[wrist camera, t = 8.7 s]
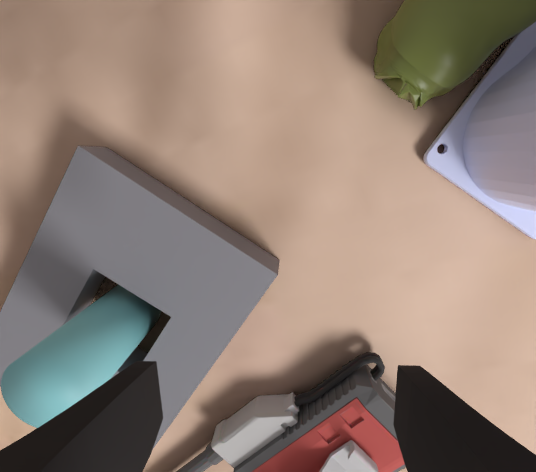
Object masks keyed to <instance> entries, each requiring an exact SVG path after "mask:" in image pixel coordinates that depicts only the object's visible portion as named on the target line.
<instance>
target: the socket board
mask: <svg viewBox="0 0 536 472" xmlns="http://www.w3.org/2000/svg"><path fill="white" fill-rule="evenodd" d="M278 269H279V259H277V258H276V257H274V256H273V255H271V254H270V253H268V252H266V251H265V250H263V249H262V248H260V247H259V246H257V245H256V244H254V243H253V242H251V241H250V240H248V239H247V238H245V237H243V236H242V235H240V234H239V233H237V232H236V231H234V230H233V229H231V228H230V227H228V226H227V225H225V224H224V223H222V222H220V221H219V220H217V219H216V218H214V217H213V216H211V215H210V214H208V213H207V212H205V211H204V210H202V209H201V208H199V207H197V206H196V205H194V204H193V203H191V202H190V201H188V200H187V199H185V198H184V197H182V196H181V195H179V194H177V193H176V192H174V191H173V190H171V189H170V188H168V187H167V186H165V185H164V184H162V183H161V182H159V181H158V180H156V179H154V178H153V177H151V176H150V175H148V174H147V173H145V172H144V171H142V170H141V169H139V168H138V167H136V166H135V165H133V164H131V163H130V162H128V161H127V160H125V159H124V158H122V157H121V156H119V155H118V154H116V153H115V152H113V151H112V150H110V149H108V148H107V147H97V146H79V145H78V147H77V149H76V151H75V153H74V155H73V158H72V160H71V162H70V164H69V166H68V168H67V170H66V173H65V175H64V177H63V179H62V181H61V183H60V185H59V187H58V190H57V192H56V194H55V196H54V198H53V200H52V202H51V205H50V207H49V209H48V211H47V213H46V215H45V217H44V219H43V222H42V224H41V226H40V228H39V230H38V232H37V234H36V237H35V239H34V241H33V243H32V245H31V247H30V249H29V251H28V254H27V256H26V258H25V260H24V262H23V264H22V266H21V269H20V271H19V273H18V275H17V277H16V279H15V281H14V283H13V286H12V288H11V290H10V292H9V294H8V296H7V298H6V301H5V303H4V305H3V307H2V309H1V311H0V386H1V379H2V375H3V373H4V371H5V370H6V368H7V367H8V366H9V365H10V364H11V363H13V362H14V361H15V360H17V359H18V358H19V357H21V356H22V355H23V354H25V353H26V352H27V351H29V350H30V349H31V348H33V347H34V346H36V345H37V344H38V343H40V342H41V341H42V340H44V339H45V338H46V337H48V336H49V335H50V334H52V333H53V332H54V331H56V330H57V329H59V328H60V327H61V326H63V325H64V324H65V323H67V322H68V321H69V320H71V319H72V318H73V317H75V316H76V315H78V314H79V313H80V312H82V311H83V310H84V309H86V308H87V307H88V306H89V305H90V304H91V302H92V300H93V298H94V296H95V295H96V293H97V291H98V289H99V287H100V286H101V284H102V282H103V280H104V278H105V277H107V278H109V279H110V280H112V281H114V282H115V283H117V284H119V285H120V286H122V287H123V288H125V289H127V290H128V291H130V292H132V293H133V294H135V295H136V296H138V297H140V298H141V299H143V300H144V301H146V302H148V303H149V304H151V305H153V306H154V307H156V308H157V309H159V310H161V311H162V312H164V313H165V314H167V315H169V316H170V317H171V318H170V320H169V321H168V323H167V325H166V326H165V328H164V329H163V331H162V332H161V334H160V335H159V337H158V339H157V340H156V342H155V343H154V345H153V346H152V348H151V349H150V351H149V353H146V352H145V351H143V350H141V349H140V348H138V347H136V348H135V349H134V351H133V352H132V353H131V354H130V356H129V357H128V358H127V359H126V360H125V362H124V363H123V364H122V365H121V367H120V368H119V369H118V370H117V372H116V373H115V374H114V375H113V376H112V377H114V376H115V375H117V374H118V373H120V372H121V371H123V370H124V369H125V368H127V367H128V366H130V365H132V364H133V363H135V362H136V361H157V370H158V378H159V386H160V395H161V403H162V411H163V420H162V423H161V426H160V429H159V432H158V435H157V438H156V441H155V444H154V446H153V448H154V447H155V445H156V444H157V442H158V441H159V440H160V438H161V437H162V436H163V434H164V433H165V431H166V430H167V429H168V427H169V426H170V424H171V423H172V422H173V420H174V419H175V417H176V416H177V415H178V413H179V412H180V410H181V409H182V408H183V406H184V405H185V403H186V402H187V401H188V399H189V398H190V396H191V395H192V394H193V392H194V391H195V389H196V388H197V387H198V385H199V384H200V383H201V381H202V380H203V378H204V377H205V376H206V374H207V373H208V371H209V370H210V369H211V367H212V366H213V364H214V363H215V362H216V360H217V359H218V357H219V356H220V355H221V353H222V352H223V350H224V349H225V348H226V346H227V345H228V343H229V342H230V341H231V339H232V338H233V336H234V335H235V334H236V332H237V331H238V330H239V328H240V327H241V325H242V324H243V323H244V321H245V320H246V318H247V317H248V316H249V314H250V313H251V311H252V310H253V309H254V307H255V306H256V304H257V303H258V302H259V300H260V299H261V297H262V296H263V295H264V293H265V292H266V290H267V289H268V288H269V286H270V285H271V283H272V282H273V281H274V279H275V278H276V277H277V275H278Z"/></svg>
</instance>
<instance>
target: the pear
mask: <svg viewBox="0 0 536 472" xmlns="http://www.w3.org/2000/svg"><path fill="white" fill-rule="evenodd" d="M535 22H536V0H404V2H403V3H402V5H401V6H400V8H399V10H398V12H397V13H396V15H395V17H394V18H393V19H391V20H390V21H389V22H388V23H387V24H386V26H385V27H384V28H383V30H382V31H381V33H380V36H379V38H378V42H377V49H378V51H377V53H376V56H375V58H374V72H375V73H376V74H375V78H376V79H381V78H382V79H383V81H384V83H387V86H388V87H391V89H393V90H394V92H395V93H394V94H396V95H398V97H399V98H401V99H402V98H403V99H407V100H409V101H408V102H410V100H411V102H410V103H412V104H413V107H414V109H417V107H418V106H420V107H421V106H422V105H423V104H425V103H426V101H427V100H429V99H431V98H432V97H434V96H441V95H444V94H446V93H448V92H450V91H451V90H452V89H453V88H455V87H456V86H457V85H459V84H461V83H462V82H464V81H465V80H466V79H468V78H469V77H470V76H471V75H472V74H473V73H474V72H475V71H476V70H477V69H478V68H479V67H480V66H481V65H482V63H483V62H484V61H485V60H486V59H487V58H488V56H489V55H490V54H491V53H492V52H493V51H494V50H495V49H496V48H497V47H498V46H499V45H501V44H502V43H503V42H505V41H506V40H508V39H510V38H511V37H513V36H515V35H517V34H518V33H520V32H522V31H523V30H525V29H526V28H528V27H529V26H531V25H532V24H533V23H535ZM382 79H381V80H382ZM400 92H401V93H400ZM399 93H400V94H399ZM407 100H406V101H407Z"/></svg>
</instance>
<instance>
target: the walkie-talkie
mask: <svg viewBox="0 0 536 472" xmlns="http://www.w3.org/2000/svg"><path fill="white" fill-rule="evenodd" d="M368 363H376V364H377V365H376V366H375V368H374V369H371V368H370V367H369V366H368V365H367V364H368ZM342 367H343V368H342V369H340V370H337V371H336V373H335V374H333V375H330V377H329V378H328V379H327V380H326V379H325V380H324V382H323V383H321V384H318V385H317V387H316V388H314V389H311V391H309V392H306V393H301V394H299V395H297V396H296V395H295V394H294V393H293V392H292V393H290V394H282V395H263V396H257V397H256V398H255V399H253V400H252V401H251V402H249V403H248V404H247V405H245V406H244V407H243V408H241V409H240V410H239V411H238V412H236V413H235V414H234V415H232V416H231V417H230V418H228V419H224V420H223V421H221V422H220V423H219V424H217V426H216V429H215V432H214V436H213V439H212V442H211V443H210V444H209V445H208V446H207V447H206V450H205V451H203V452H202V453H201V454H199V455H198V456H197V457H195V458H194V459H193V460H191V461H190V462H189V463H187V464H186V465H185V466H183V467H182V468H181V469H179V470H178V471H177V472H203V471H205V470H206V469H207V468H209V467H210V466H212V465H216V464H218V463H219V462H220V461H222V460H223V459H224V460H225V461H226V462H228V463H229V464H230V465H231V466H232V467H233V468H234V472H398V471H400V470H402V469H404V468H405V467H406V466H405V463H404V460H403V457H402V453H401V450H400V447H399V443H398V440H397V436H396V432H395V429H394V425H393V423H394V410H395V397H396V394H395V393H394V392H393V391H392V390H391V389H390V388H389V387H388V386H387V385H386V384H385V383H384V382H383V381H382V380H381V379H380V377H381V376H382V374H383V373H384V369H385V366H384V364H383V362H382V360H381V358H380V356H379V355H377V354H376V353H372V352H367V353H365V354H362V355H359V356H358V357H356V358H355V359H354V360H352V361H349V363H348V364H347V365H346V366H345V365H344V366H342Z"/></svg>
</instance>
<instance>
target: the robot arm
mask: <svg viewBox="0 0 536 472" xmlns="http://www.w3.org/2000/svg"><path fill="white" fill-rule="evenodd" d="M440 144H442V145H443V146H444V151H443V152H442V153H441V154H439V153H438V151H437V148H438V146H439V145H440ZM424 162H425V164H426V165H427V166H429V167H430V168H432V169H433V170H434V171H436V172H437V173H439V174H440V175H442V176H443V177H444V178H446V179H447V180H449V181H450V182H451V183H453V184H454V185H456V186H457V187H459V188H460V189H461V190H463V191H464V192H466V193H467V194H468V195H470V196H471V197H473V198H474V199H476V200H477V201H478V202H480V203H481V204H483V205H484V206H485V207H487V208H488V209H490V210H491V211H493V212H494V213H495V214H497V215H498V216H500V217H501V218H502V219H504V220H505V221H507V222H508V223H510V224H511V225H512V226H514V227H515V228H517V229H518V230H519V231H521V232H522V233H524V234H525V235H526V236H528V237H530V238H533V239H536V22H535V23H533V24H532V25H531V26H529V27H528V28H526V29H525V30H523V31H522V32H520V33H518V34H517V35H515V36H514V37H513V39H512V40H511V41H510V43H509V44H508V45H507V47H506V48H505V49H504V50H503V52H502V53H501V54H500V56H499V57H498V58H497V60H496V61H495V62H494V63H493V65H492V66H491V67H490V69H489V70H488V71H487V73H486V74H485V75H484V77H483V78H482V79H481V80H480V82H479V83H478V84H477V86H476V87H475V88H474V90H473V91H472V92H471V93H470V95H469V96H468V97H467V99H466V100H465V101H464V103H463V104H462V105H461V106H460V108H459V109H458V110H457V112H456V113H455V114H454V116H453V117H452V118H451V119H450V121H449V122H448V123H447V125H446V126H445V127H444V129H443V130H442V131H441V133H440V134H439V135H438V136H437V138H436V139H435V140H434V142H433V143H432V144H431V146H430V147H429V148H428V149H427V151H426V152H425V154H424ZM162 420H163V411H162V403H161V395H160V386H159V378H158V370H157V361H136V362H135V363H133V364H132V365H130V366H128V367H127V368H125V369H124V370H123V371H121V372H120V373H118V374H117V375H115V376H114V377H112V378H111V379H110V380H108V381H107V382H105V383H104V384H103V385H101V386H100V387H98V388H97V389H95V390H94V391H92V392H91V393H90V394H88V395H87V396H85V397H84V398H82V399H81V400H80V401H78V402H77V403H75V404H74V405H72V406H71V407H69V408H68V409H66V410H65V411H63V412H62V413H60V414H58V415H57V416H55V417H54V418H52V419H51V420H49V421H48V422H46V423H45V424H43V425H42V426H40V427H38V428H37V429H35V430H34V431H32V432H31V433H29V434H27V435H26V436H24V437H23V438H21V439H19V440H18V441H16V442H14V443H12V444H11V445H9V446H7V447H6V448H4V449H2V450H0V472H142V471H143V469H144V467H145V465H146V463H147V461H148V459H149V457H150V454H151V452H152V449H153V446H154V444H155V441H156V438H157V435H158V432H159V429H160V426H161V423H162ZM393 425H394V429H395V432H396V436H397V440H398V443H399V447H400V450H401V453H402V457H403V460H404V463H405V466H406V468H407V471H408V472H536V455H535V454H533V453H532V452H531V451H529V450H528V449H527V448H525V447H524V446H522V445H521V444H520V443H518V442H517V441H515V440H514V439H513V438H511V437H510V436H508V435H507V434H506V433H504V432H503V431H502V430H500V429H499V428H498V427H496V426H495V425H494V424H492V423H491V422H490V421H488V420H487V419H486V418H485V417H483V416H482V415H481V414H479V413H478V412H477V411H476V410H474V409H473V408H472V407H470V406H469V405H468V404H467V403H465V402H464V401H463V400H462V399H460V398H459V397H458V396H457V395H456V394H454V393H453V392H452V391H451V390H449V389H448V388H447V387H446V386H444V385H443V384H442V383H441V382H440V381H438V380H437V379H436V378H435V377H433V376H432V375H431V374H430V373H428V372H427V371H426V370H425V369H423V368H422V367H421V366H400V365H398V372H397V384H396V397H395V410H394V423H393Z"/></svg>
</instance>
